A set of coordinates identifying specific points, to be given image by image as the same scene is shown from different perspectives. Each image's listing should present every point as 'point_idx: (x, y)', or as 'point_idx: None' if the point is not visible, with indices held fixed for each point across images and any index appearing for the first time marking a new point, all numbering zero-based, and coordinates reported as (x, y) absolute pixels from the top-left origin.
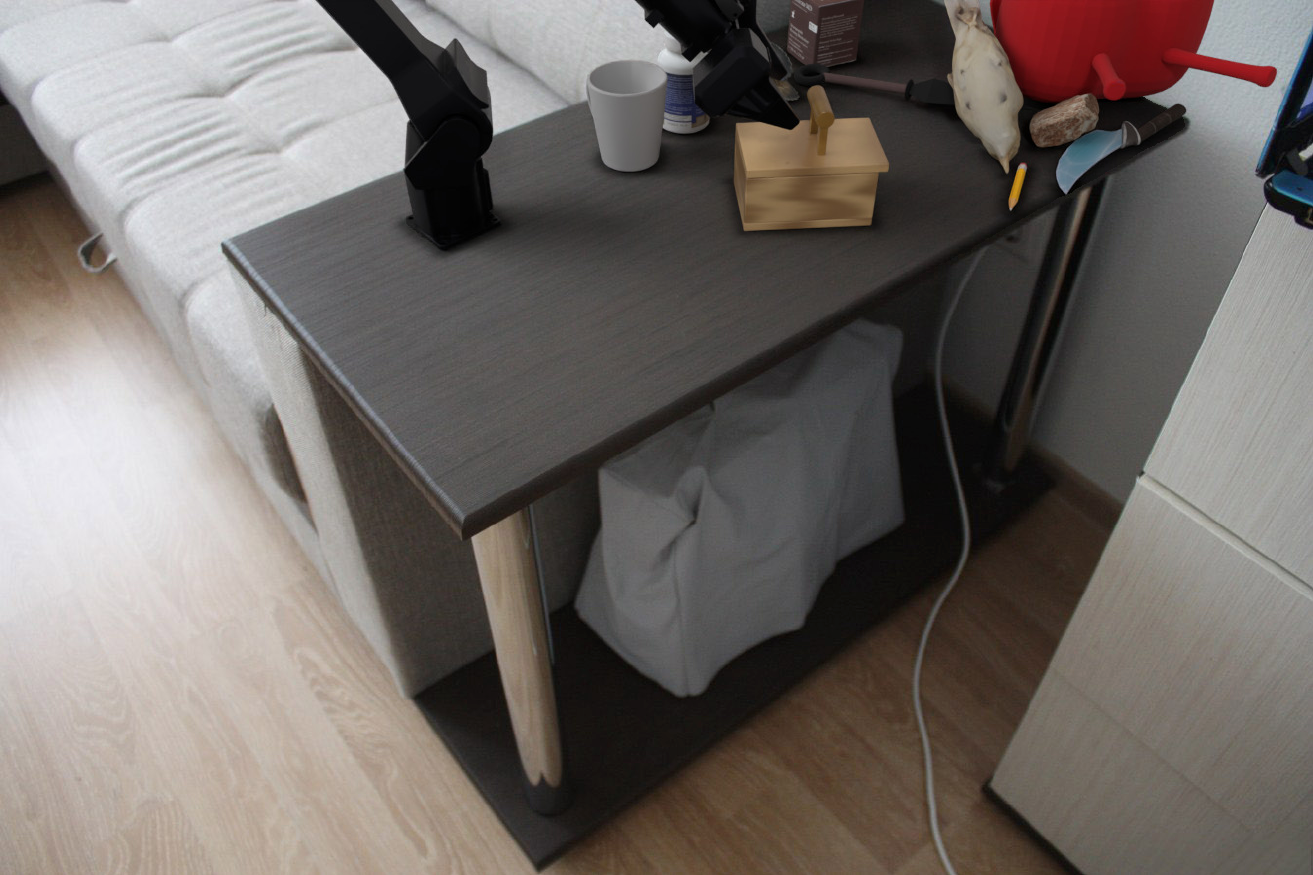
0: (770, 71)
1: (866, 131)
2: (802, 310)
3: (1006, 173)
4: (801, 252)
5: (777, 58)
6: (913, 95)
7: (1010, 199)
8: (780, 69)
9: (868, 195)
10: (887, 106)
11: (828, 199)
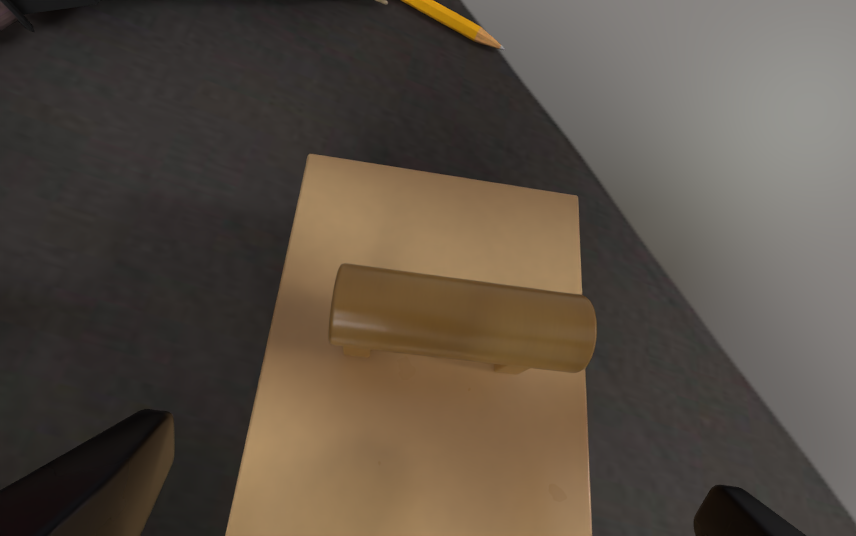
0: (131, 531)
1: (393, 188)
2: (803, 512)
3: (386, 4)
4: (604, 461)
5: (96, 490)
6: (44, 9)
7: (478, 35)
8: (148, 460)
9: None
10: (13, 75)
11: None
